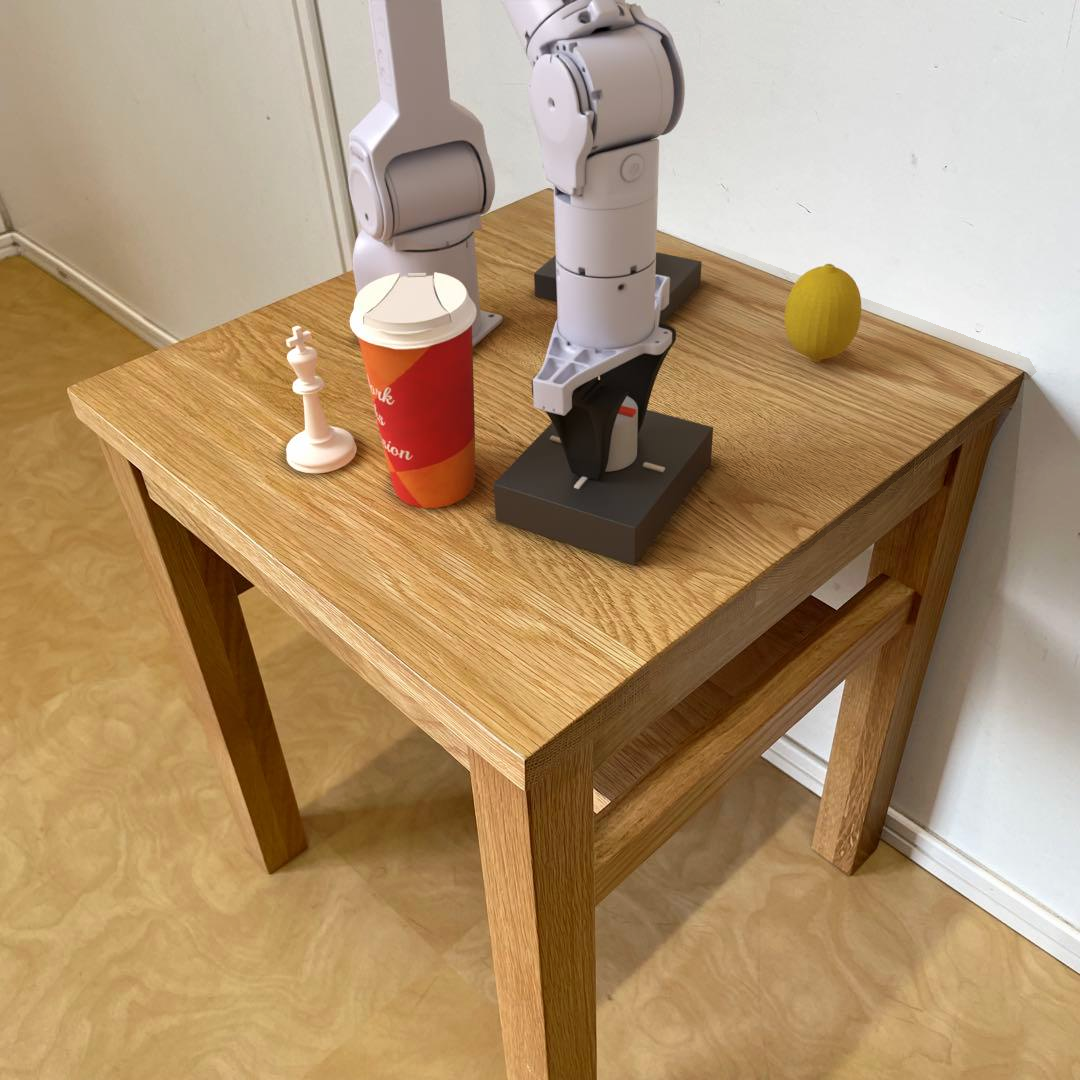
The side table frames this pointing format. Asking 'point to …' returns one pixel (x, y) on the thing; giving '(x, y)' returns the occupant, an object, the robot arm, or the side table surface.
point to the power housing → (676, 268)
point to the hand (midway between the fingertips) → (606, 451)
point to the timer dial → (624, 437)
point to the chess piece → (314, 416)
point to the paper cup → (421, 382)
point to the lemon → (823, 312)
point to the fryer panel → (606, 489)
